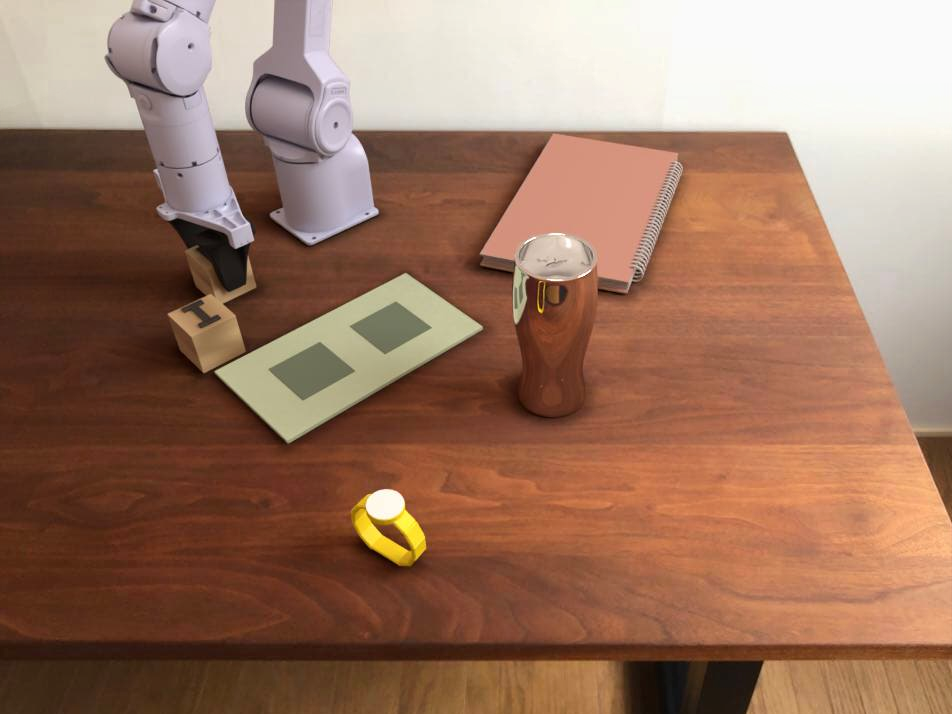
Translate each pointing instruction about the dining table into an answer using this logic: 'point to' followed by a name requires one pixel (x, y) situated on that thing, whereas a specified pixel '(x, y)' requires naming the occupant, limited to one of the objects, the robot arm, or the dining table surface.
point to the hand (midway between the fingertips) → (222, 275)
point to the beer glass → (554, 319)
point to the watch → (386, 511)
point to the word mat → (346, 355)
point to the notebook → (591, 205)
